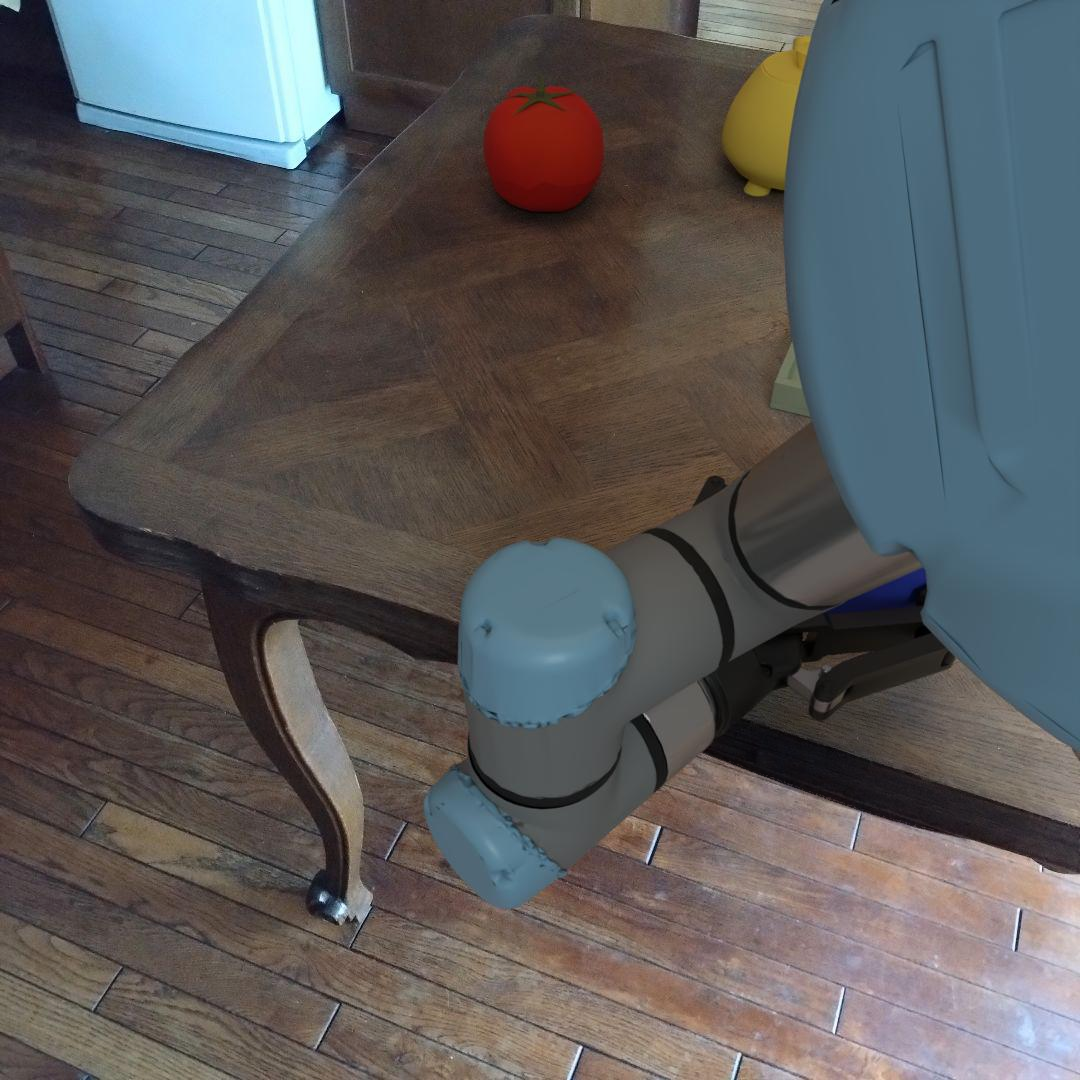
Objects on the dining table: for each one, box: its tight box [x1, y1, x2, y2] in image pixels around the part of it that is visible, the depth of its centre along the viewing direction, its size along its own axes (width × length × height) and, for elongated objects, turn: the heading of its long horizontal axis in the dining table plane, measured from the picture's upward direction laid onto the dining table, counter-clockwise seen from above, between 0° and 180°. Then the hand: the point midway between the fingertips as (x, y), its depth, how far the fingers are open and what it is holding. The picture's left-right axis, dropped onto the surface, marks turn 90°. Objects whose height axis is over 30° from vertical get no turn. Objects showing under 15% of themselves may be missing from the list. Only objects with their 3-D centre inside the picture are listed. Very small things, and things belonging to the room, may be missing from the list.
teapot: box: [720, 35, 811, 197], centre depth 111 cm, size 20×16×14 cm
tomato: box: [482, 74, 605, 213], centre depth 107 cm, size 12×13×12 cm
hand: (895, 507), depth 70 cm, fingers open, 12 cm apart
